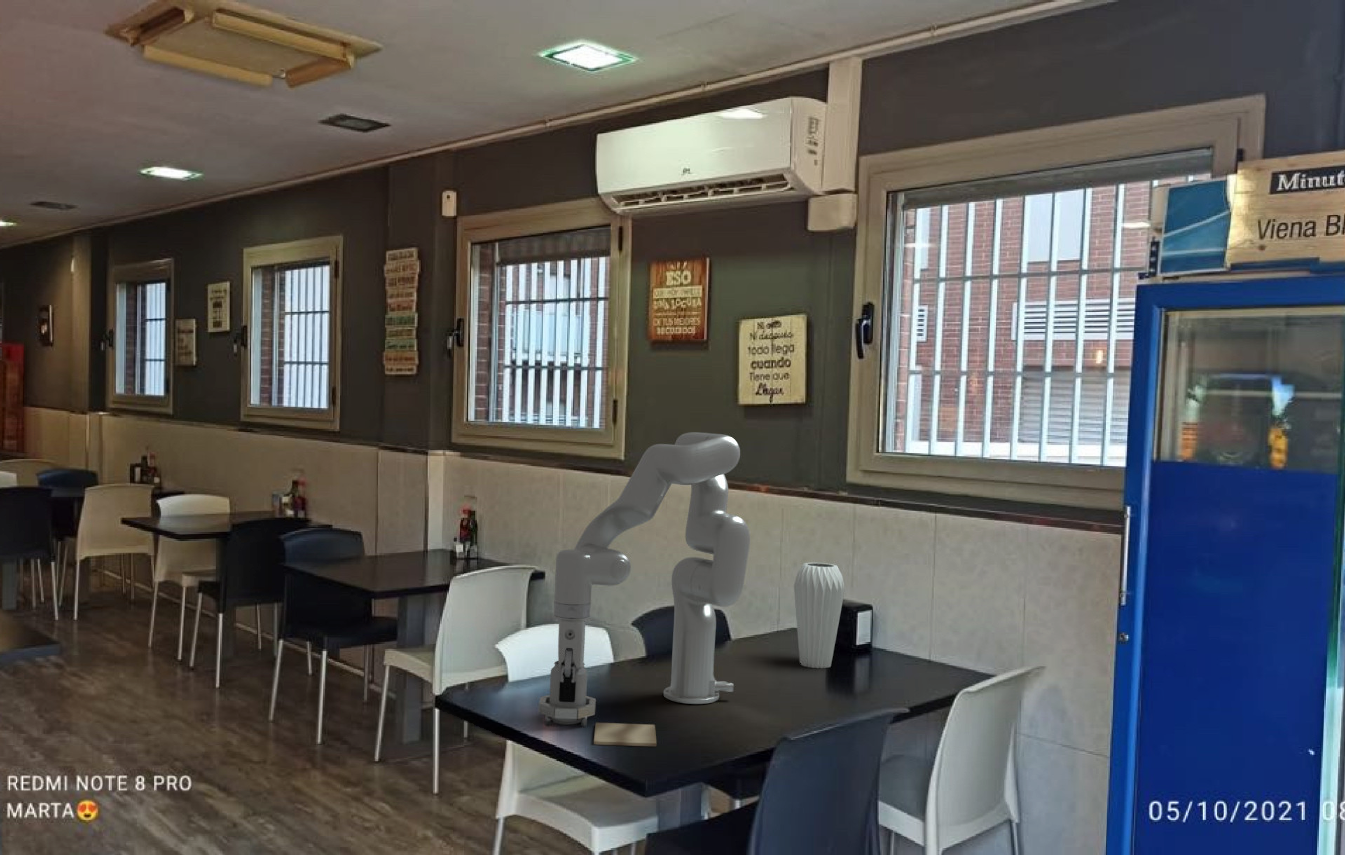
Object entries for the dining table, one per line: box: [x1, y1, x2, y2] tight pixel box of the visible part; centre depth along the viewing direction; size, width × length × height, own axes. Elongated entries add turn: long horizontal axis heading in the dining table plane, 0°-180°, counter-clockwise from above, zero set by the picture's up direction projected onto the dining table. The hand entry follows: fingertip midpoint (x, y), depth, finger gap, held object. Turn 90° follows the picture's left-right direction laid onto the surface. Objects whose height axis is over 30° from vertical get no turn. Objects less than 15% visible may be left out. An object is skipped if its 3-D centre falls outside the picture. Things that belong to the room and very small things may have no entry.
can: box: [549, 660, 588, 725], centre depth 216 cm, size 8×8×12 cm
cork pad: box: [593, 722, 657, 747], centre depth 207 cm, size 12×12×1 cm
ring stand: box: [538, 694, 597, 728], centre depth 216 cm, size 11×11×4 cm
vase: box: [793, 562, 845, 669], centre depth 275 cm, size 13×13×26 cm
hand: (568, 695), depth 216 cm, fingers closed on can, 7 cm apart
